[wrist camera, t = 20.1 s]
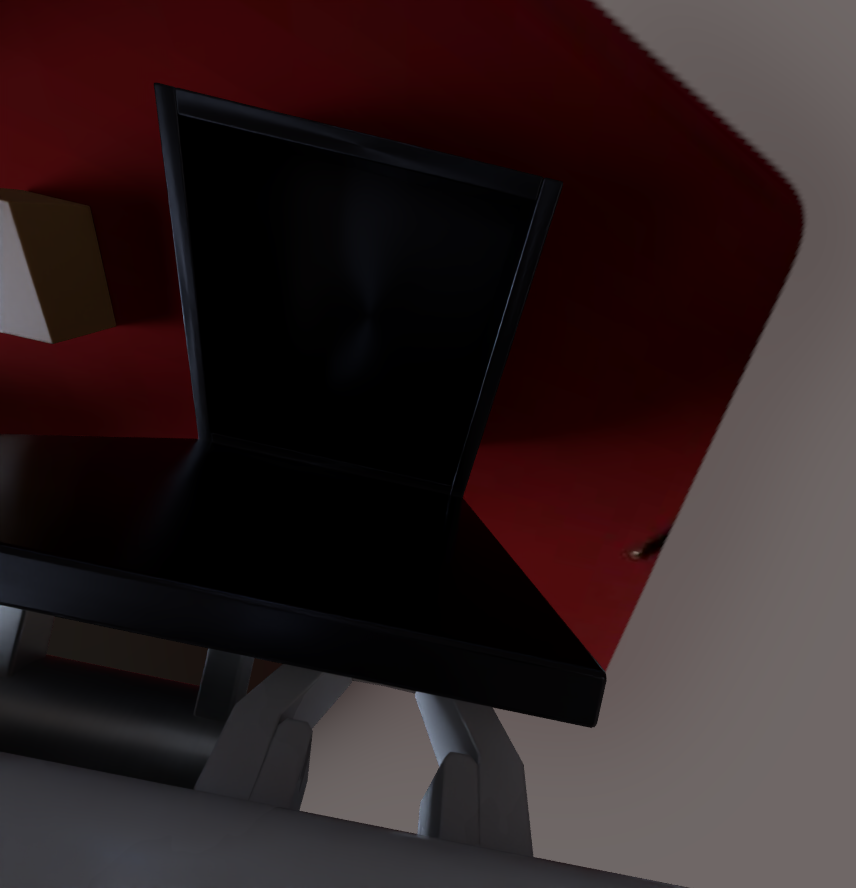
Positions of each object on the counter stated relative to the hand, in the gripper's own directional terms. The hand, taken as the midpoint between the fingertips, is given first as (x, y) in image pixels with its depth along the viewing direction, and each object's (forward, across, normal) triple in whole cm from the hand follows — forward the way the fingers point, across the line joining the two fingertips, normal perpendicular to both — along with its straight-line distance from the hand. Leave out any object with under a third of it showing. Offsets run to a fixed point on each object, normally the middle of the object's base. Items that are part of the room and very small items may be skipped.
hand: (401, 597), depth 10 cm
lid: (+4, +5, 0) cm, 6 cm away
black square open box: (+17, +5, -3) cm, 18 cm away
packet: (+17, +24, -2) cm, 30 cm away
